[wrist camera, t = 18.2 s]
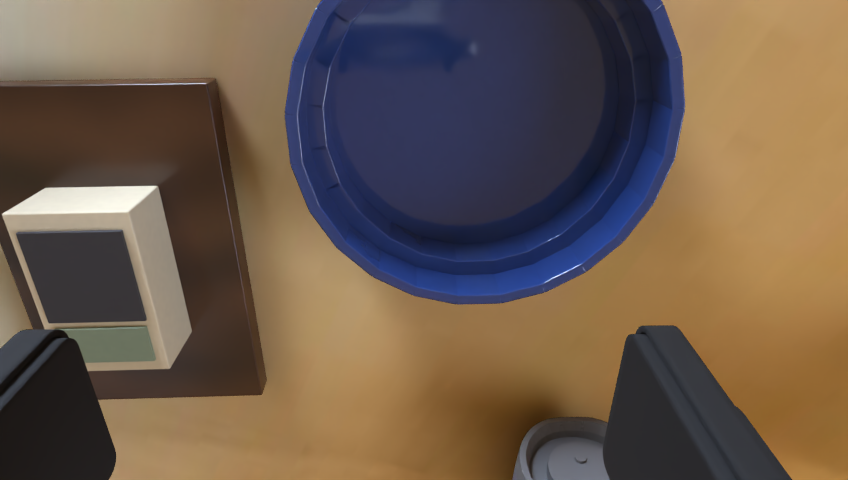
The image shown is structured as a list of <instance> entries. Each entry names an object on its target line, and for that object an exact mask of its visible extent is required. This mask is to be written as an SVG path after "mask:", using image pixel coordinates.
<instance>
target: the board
mask: <svg viewBox="0 0 848 480" xmlns="http://www.w3.org/2000/svg"><path fill="white" fill-rule="evenodd" d="M116 186H158V187H159V192H160V196H161V200H162V205H163V209H164V213H165V217H166V222H167V226H168V230H169V235H170V239H171V243H172V247H173V252H174V256H175V260H176V265H177V269H178V273H179V277H180V282H181V286H182V290H183V295H184V299H185V303H186V308H187V312H188V316H189V320H190V325H191V329H192V332H191V334H190V336H189V337H188V339H187V341H186V342H185V344H184V346H183V347H182V349H181V351H180V353H179V354H178V356H177V358H176V359H175V361H174V363H173V364H172V366H171V368H170V369H146V370H109V371H88V373H89V376H90V379H91V382H92V385H93V388H94V391H95V394H96V396H97V399H98V400H101V399H137V398H173V397H209V396H245V395H262V393H263V390H264V387H265V384H266V381H267V379H266V373H265V367H264V361H263V355H262V349H261V343H260V337H259V331H258V325H257V320H256V314H255V308H254V302H253V296H252V290H251V284H250V278H249V272H248V266H247V260H246V254H245V249H244V243H243V237H242V231H241V225H240V219H239V213H238V207H237V201H236V195H235V189H234V183H233V177H232V172H231V166H230V160H229V154H228V148H227V142H226V136H225V130H224V124H223V118H222V112H221V106H220V101H219V95H218V89H217V83H216V79H215V78H189V79H114V80H39V81H0V244H1V246H2V249H3V251H4V254H5V257H6V259H7V262H8V264H9V267H10V270H11V272H12V275H13V277H14V280H15V283H16V285H17V288H18V290H19V293H20V296H21V298H22V301H23V303H24V306H25V309H26V311H27V314H28V316H29V319H30V322H31V324H32V327H33V329H34V330H41V329H44V326H43V323H42V321H41V318H40V315H39V313H38V310H37V307H36V305H35V302H34V299H33V297H32V294H31V291H30V289H29V286H28V283H27V281H26V278H25V275H24V273H23V270H22V267H21V265H20V262H19V259H18V257H17V254H16V251H15V249H14V246H13V243H12V241H11V238H10V235H9V232H8V230H7V227H6V224H5V222H4V219H3V216H2V214H3V213H4V212H6V211H8V210H9V209H11V208H13V207H14V206H16V205H18V204H19V203H21V202H23V201H24V200H26V199H28V198H29V197H31V196H33V195H34V194H36V193H38V192H39V191H41V190H43V189H44V188H62V187H116Z"/></svg>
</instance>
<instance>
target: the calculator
mask: <svg viewBox="0 0 848 480" xmlns="http://www.w3.org/2000/svg"><path fill="white" fill-rule="evenodd" d="M2 216H3V219H4V222H5V224H6V227H7V230H8V232H9V235H10V238H11V241H12V243H13V246H14V249H15V251H16V254H17V257H18V259H19V262H20V265H21V267H22V270H23V273H24V275H25V278H26V281H27V283H28V286H29V289H30V291H31V294H32V297H33V299H34V302H35V305H36V307H37V310H38V313H39V315H40V318H41V321H42V323H43V326H44V329H59V330H63V331H64V332H65V333H67V335H68V337H69V338H72V339H74V340H76V341H77V343H78V345H79V348H80V351H81V353H82V356H83V359H84V362H85V365H86V368H87V371H109V370H146V369H170V368H171V366H172V364H173V363H174V361H175V359H176V358H177V356H178V354H179V353H180V351H181V349H182V347H183V346H184V344H185V342H186V341H187V339H188V337H189V336H190V334H191V332H192V329H191V325H190V320H189V316H188V312H187V308H186V303H185V299H184V295H183V290H182V286H181V282H180V277H179V273H178V269H177V265H176V260H175V256H174V252H173V247H172V243H171V239H170V235H169V230H168V226H167V222H166V217H165V213H164V209H163V205H162V200H161V196H160V192H159V187H158V186H116V187H62V188H44V189H43V190H41V191H39V192H38V193H36V194H34V195H33V196H31V197H29V198H28V199H26V200H24V201H23V202H21V203H19V204H18V205H16V206H14V207H13V208H11V209H9V210H8V211H6V212H4V213H3V214H2Z"/></svg>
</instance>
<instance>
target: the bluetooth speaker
mask: <svg viewBox="0 0 848 480" xmlns="http://www.w3.org/2000/svg"><path fill="white" fill-rule="evenodd" d="M607 425H608V423H607V422H605V421H602V420H599V419H595V418H589V417H559V418H550V419H546V420H544V421H541V422H539V423H537V424H536V425H535V426H533V427H532V428H531V429H530V430H529V431H528V432H527V433H526V435H525V436H524V438H523V441H522V443H521V446H520V449H519V453H518V456H517V461H516V464H515V469H514V473H513V479H512V480H610V479H609V476H608V474H607V471H606V468H605V465H604V460H603V444H604V439H605V434H606V430H607Z"/></svg>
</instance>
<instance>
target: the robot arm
mask: <svg viewBox="0 0 848 480" xmlns="http://www.w3.org/2000/svg"><path fill="white" fill-rule="evenodd" d="M603 460H604V465H605V468H606V471H607V474H608V476H609V479H610V480H792V479H791V478H790V476H789V475H788V474H787V472H786V471H785V469H784V468H783V467H782V465H781V464H780V463H779V461H778V460H777V458H776V457H775V456H774V454H773V453H772V452H771V450H770V449H769V447H768V446H767V445H766V443H765V442H764V441H763V439H762V438H761V436H760V435H759V434H758V432H757V431H756V430H755V428H754V427H753V426H752V424H751V423H750V421H749V420H748V419H747V417H746V416H745V415H744V414H743V413H742V411H741V410H740V409H739V408H738V407H736V406H734V404H733V403H732V401H731V400H730V399H729V397H728V396H727V394H726V393H725V392H724V390H723V389H722V387H721V386H720V385H719V383H718V382H717V381H716V379H715V378H714V376H713V375H712V374H711V372H710V371H709V369H708V368H707V367H706V365H705V364H704V363H703V361H702V360H701V358H700V357H699V356H698V354H697V353H696V351H695V350H694V349H693V347H692V346H691V344H690V343H689V342H688V340H687V339H686V338H685V336H684V335H683V333H682V332H681V331H680V330H679V329H678V328H677V327H676V326H640V327H639V328H638V329H637V331H636V334H630V335H628V337H627V338H626V341H625V346H624V351H623V355H622V360H621V364H620V369H619V374H618V378H617V383H616V388H615V392H614V397H613V402H612V406H611V411H610V416H609V420H608V425H607V430H606V434H605V439H604V444H603ZM115 463H116V452H115V448H114V445H113V442H112V439H111V436H110V434H109V431H108V428H107V425H106V422H105V419H104V416H103V414H102V411H101V408H100V405H99V402H98V399H97V396H96V394H95V391H94V388H93V385H92V382H91V379H90V376H89V373H88V371H87V368H86V365H85V362H84V359H83V356H82V353H81V351H80V348H79V345H78V343H77V341H76V340H74V339H72V338H69V337H68V335H67V333H65V332H64V331H63V330H59V329H41V330H22V331H20V332H18V333H17V334H15V335H14V336H13V337H12V338H11V339H10V340H9V341H8V342H7V343H6V344H5V345H4V346H3V347H2V348H1V349H0V480H109V478H110V476H111V475H112V472H113V470H114V467H115Z"/></svg>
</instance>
